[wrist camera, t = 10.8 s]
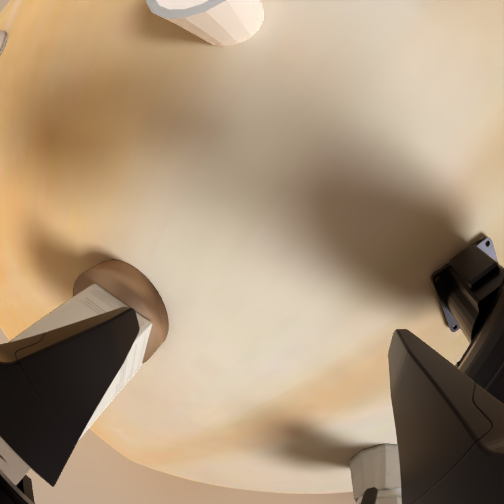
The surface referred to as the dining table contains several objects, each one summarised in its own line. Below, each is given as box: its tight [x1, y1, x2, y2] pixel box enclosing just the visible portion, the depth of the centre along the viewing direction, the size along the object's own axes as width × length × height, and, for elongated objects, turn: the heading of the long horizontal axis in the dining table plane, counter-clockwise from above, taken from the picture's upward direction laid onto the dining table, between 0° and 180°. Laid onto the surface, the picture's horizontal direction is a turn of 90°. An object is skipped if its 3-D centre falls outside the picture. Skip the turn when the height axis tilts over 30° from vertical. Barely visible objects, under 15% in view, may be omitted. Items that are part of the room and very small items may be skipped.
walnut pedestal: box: [73, 260, 169, 363], centre depth 26 cm, size 11×11×3 cm
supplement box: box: [8, 284, 152, 439], centre depth 19 cm, size 7×7×13 cm
